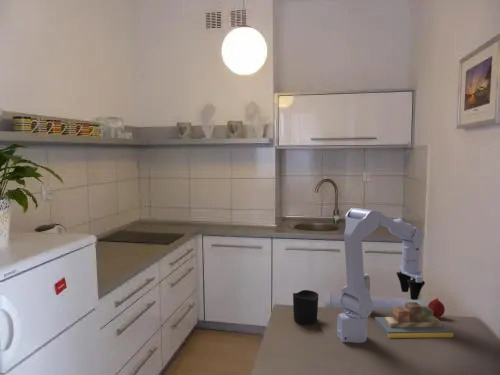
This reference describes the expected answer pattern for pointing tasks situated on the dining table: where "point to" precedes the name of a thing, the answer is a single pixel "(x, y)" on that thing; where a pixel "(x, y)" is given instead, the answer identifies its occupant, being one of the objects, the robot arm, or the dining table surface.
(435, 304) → the onion
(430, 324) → the board
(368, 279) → the energy drink can
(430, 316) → the block
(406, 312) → the block
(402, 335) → the dock
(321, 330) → the dining table surface
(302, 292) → the pen holder
